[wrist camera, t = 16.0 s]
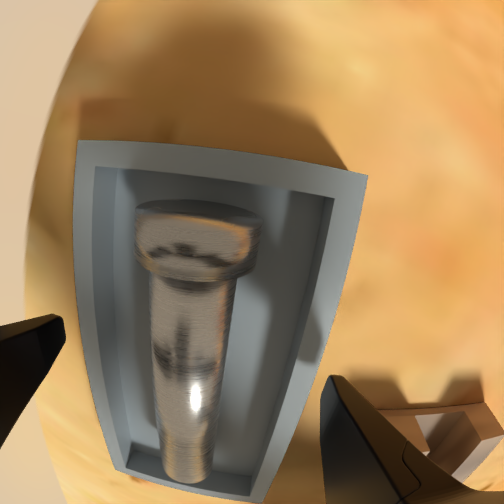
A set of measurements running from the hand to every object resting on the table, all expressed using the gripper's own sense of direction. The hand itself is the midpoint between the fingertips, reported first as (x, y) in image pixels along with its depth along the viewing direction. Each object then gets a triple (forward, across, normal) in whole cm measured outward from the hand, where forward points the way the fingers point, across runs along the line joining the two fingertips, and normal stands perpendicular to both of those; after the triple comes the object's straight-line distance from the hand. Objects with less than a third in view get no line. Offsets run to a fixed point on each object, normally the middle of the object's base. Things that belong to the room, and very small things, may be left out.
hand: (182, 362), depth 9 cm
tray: (+3, 0, +2) cm, 4 cm away
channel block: (+3, -12, +7) cm, 15 cm away
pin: (+3, 0, +2) cm, 3 cm away
